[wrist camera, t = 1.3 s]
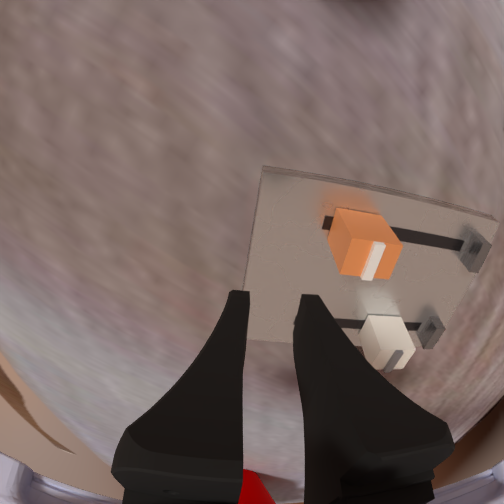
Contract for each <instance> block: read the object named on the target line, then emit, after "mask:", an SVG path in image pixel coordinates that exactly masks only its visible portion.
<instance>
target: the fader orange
mask: <svg viewBox="0 0 504 504" xmlns="http://www.w3.org/2000/svg"><path fill="white" fill-rule="evenodd" d="M327 241H328V244H329V246H330V249H331V252H332V254H333V257H334V260H335V263H336V265H337V268H338V271H339V274H342V275H351V276H360V277H361V279H362V280H368V281H372V279H373V278H379V279H389V278H390V276H391V274H392V272H393V269H394V267H395V265H396V262H397V260H398V257H399V255H400V253H401V250H402V248H403V245H402V243H401V242H400V240H399V239H398V237H397V236H396V235H395V233H394V232H393V230H392V229H391V228H390V226H389V225H388V224H387V222H386V221H385V219H384V218H383V217H382V216H381V215H376V214H370V213H365V212H359V211H354V210H348V209H342V208H336V211H335V214H334V218H333V221H332V225H331V228H330V232H329V235H328V239H327Z"/></svg>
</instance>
